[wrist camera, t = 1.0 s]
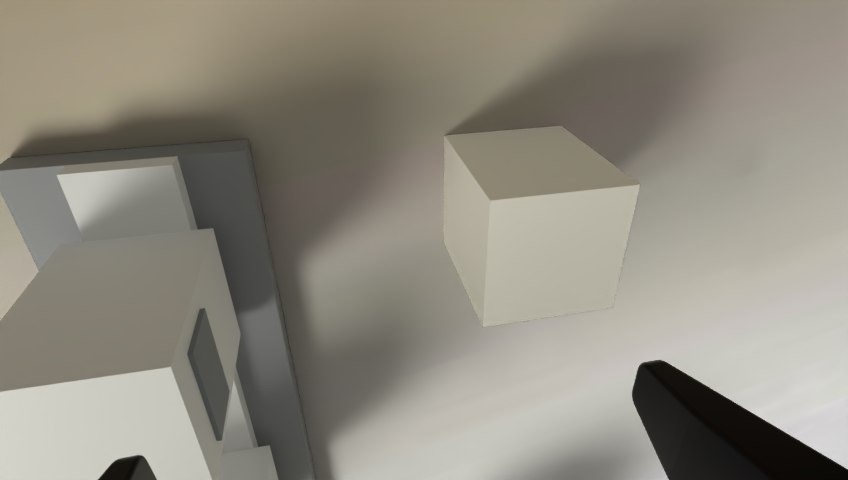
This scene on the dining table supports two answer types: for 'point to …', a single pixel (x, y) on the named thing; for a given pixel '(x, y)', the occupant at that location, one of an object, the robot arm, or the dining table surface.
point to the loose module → (535, 223)
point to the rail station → (147, 320)
